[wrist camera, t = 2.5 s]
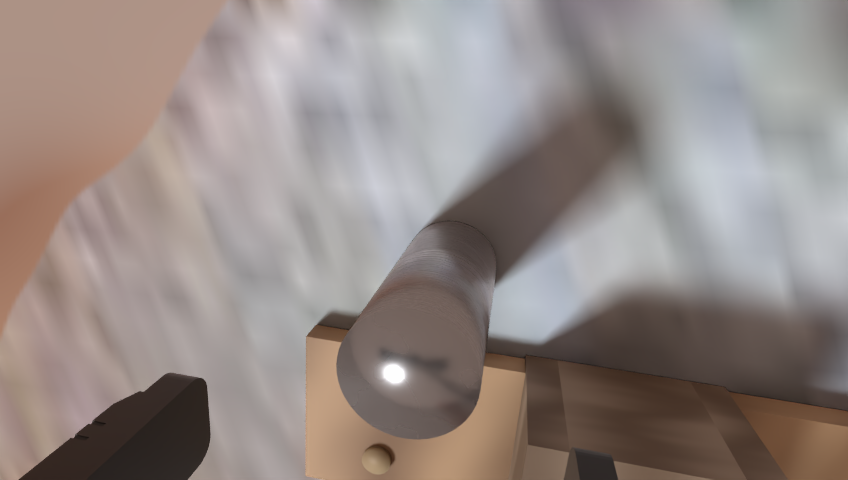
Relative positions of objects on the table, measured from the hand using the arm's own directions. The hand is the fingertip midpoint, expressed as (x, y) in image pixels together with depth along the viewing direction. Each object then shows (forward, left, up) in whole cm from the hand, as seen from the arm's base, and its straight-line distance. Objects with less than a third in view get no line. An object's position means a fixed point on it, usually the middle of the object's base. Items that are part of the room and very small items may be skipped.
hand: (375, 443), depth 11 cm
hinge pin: (0, 0, -12) cm, 12 cm away
